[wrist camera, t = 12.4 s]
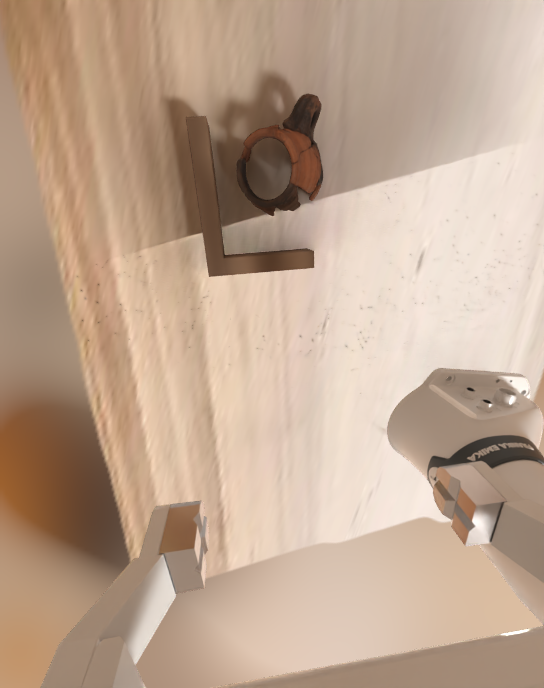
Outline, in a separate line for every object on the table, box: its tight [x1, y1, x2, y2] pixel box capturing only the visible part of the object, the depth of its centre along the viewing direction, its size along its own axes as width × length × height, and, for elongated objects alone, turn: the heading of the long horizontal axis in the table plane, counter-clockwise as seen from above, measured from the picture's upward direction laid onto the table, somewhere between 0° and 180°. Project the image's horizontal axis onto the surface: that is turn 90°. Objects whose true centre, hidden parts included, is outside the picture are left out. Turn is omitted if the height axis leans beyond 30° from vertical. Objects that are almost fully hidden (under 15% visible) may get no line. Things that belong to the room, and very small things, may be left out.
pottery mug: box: [237, 94, 323, 216], centre depth 34 cm, size 12×9×8 cm
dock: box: [186, 116, 314, 277], centre depth 36 cm, size 13×16×4 cm
